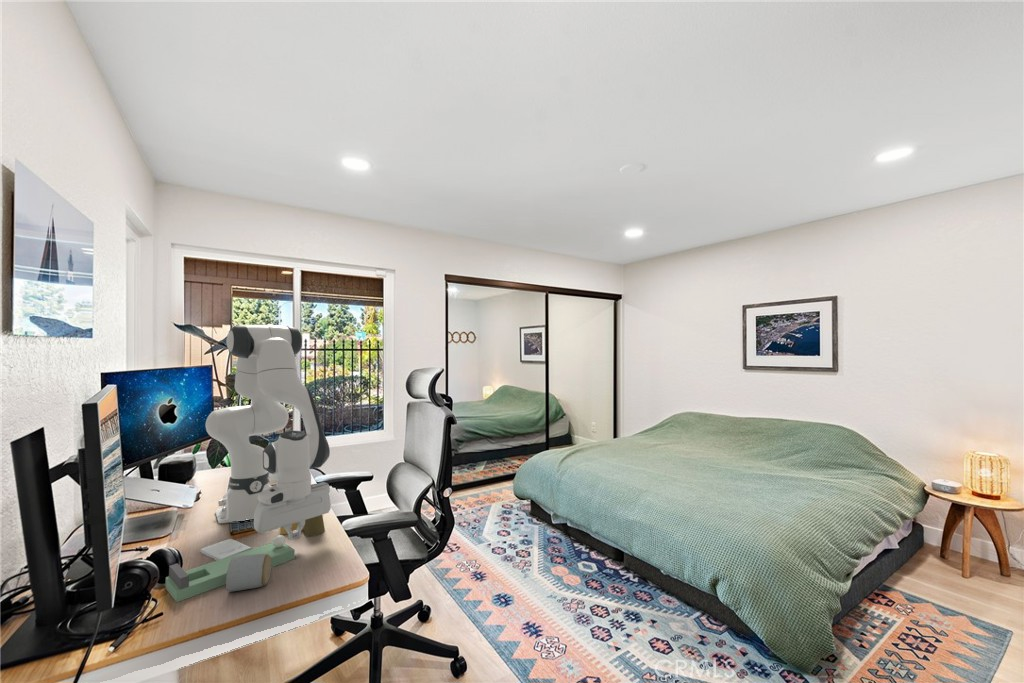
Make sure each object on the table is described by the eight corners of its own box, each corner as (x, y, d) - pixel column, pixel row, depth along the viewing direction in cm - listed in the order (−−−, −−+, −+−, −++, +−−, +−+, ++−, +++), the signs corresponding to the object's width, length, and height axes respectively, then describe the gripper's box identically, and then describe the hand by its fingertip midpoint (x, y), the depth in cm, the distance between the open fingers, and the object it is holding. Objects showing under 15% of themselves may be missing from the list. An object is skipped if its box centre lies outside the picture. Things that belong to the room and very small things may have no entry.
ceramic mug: (265, 591, 100) (265, 558, 100) (225, 598, 97) (225, 564, 98) (274, 571, 110) (274, 541, 110) (238, 577, 107) (238, 546, 108)
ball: (270, 547, 118) (270, 536, 118) (282, 543, 120) (282, 532, 121) (275, 550, 116) (275, 539, 116) (287, 546, 118) (287, 535, 118)
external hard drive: (231, 543, 129) (252, 552, 122) (200, 554, 122) (220, 564, 115) (231, 538, 129) (252, 546, 122) (200, 548, 122) (220, 558, 116)
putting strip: (165, 587, 103) (165, 566, 103) (279, 548, 123) (279, 531, 123) (176, 602, 96) (176, 579, 97) (294, 558, 116) (294, 540, 117)
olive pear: (316, 536, 131) (315, 500, 131) (299, 535, 132) (298, 499, 132) (329, 528, 137) (328, 494, 137) (312, 527, 138) (311, 493, 138)
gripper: (324, 478, 132) (324, 523, 131) (251, 496, 116) (251, 547, 116) (334, 482, 128) (335, 528, 127) (260, 500, 112) (260, 554, 112)
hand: (294, 537), depth 121 cm, fingers closed
